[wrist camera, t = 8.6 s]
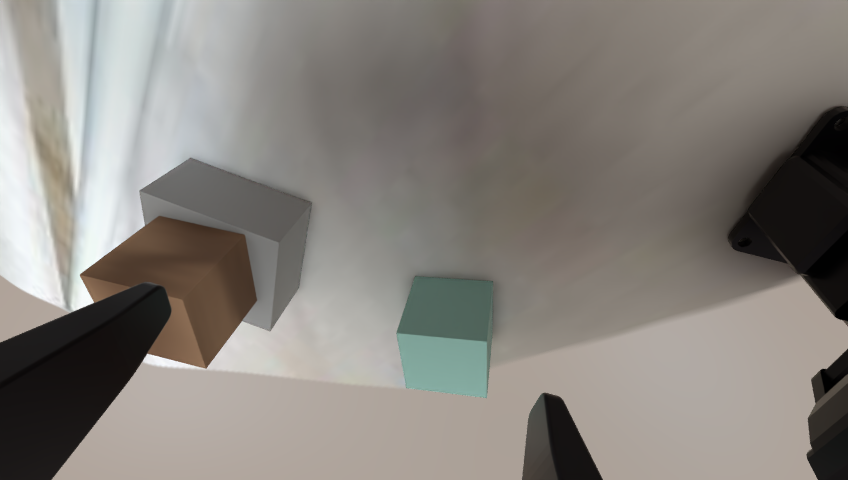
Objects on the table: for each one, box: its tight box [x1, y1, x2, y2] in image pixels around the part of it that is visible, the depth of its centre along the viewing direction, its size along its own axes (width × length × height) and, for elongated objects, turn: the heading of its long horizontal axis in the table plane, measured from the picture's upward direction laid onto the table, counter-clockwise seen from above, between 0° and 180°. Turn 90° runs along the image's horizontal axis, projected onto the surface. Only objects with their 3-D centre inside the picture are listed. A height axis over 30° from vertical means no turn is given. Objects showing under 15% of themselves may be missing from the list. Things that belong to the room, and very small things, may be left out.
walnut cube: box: [80, 216, 257, 368], centre depth 19 cm, size 4×4×4 cm
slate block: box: [139, 158, 312, 331], centre depth 23 cm, size 7×7×4 cm
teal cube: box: [396, 276, 493, 398], centre depth 23 cm, size 4×4×4 cm
